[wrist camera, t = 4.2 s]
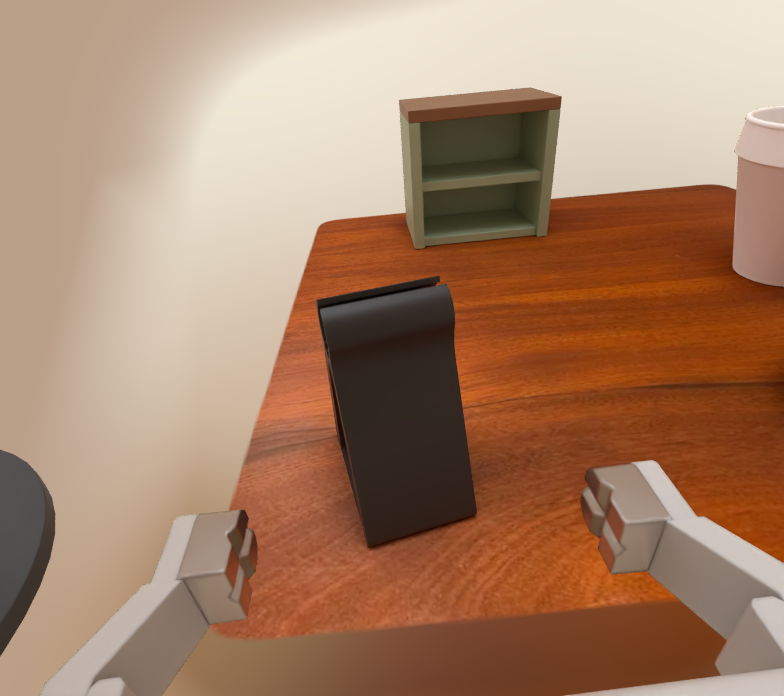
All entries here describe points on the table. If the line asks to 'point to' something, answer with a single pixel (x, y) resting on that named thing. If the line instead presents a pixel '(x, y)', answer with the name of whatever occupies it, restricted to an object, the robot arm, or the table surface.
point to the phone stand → (398, 406)
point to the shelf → (478, 165)
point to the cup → (760, 198)
